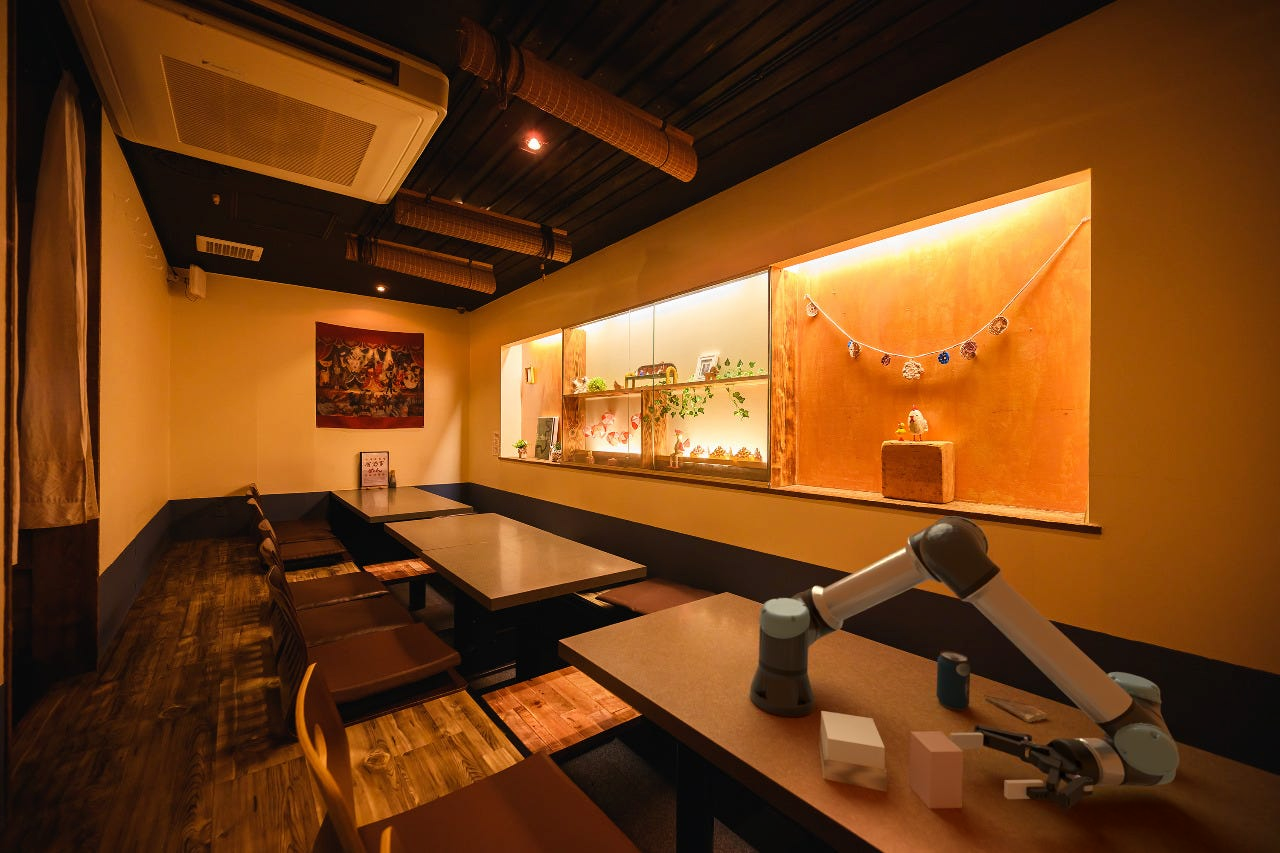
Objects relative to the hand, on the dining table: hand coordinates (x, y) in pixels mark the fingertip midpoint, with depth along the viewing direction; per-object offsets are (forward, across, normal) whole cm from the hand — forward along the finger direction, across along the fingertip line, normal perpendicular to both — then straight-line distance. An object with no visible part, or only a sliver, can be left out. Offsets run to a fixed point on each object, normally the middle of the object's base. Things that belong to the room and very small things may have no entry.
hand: (976, 763), depth 93 cm
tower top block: (+20, +8, -2) cm, 21 cm away
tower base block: (+20, +8, -6) cm, 22 cm away
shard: (-32, +27, -7) cm, 42 cm away
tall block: (+8, 0, -6) cm, 10 cm away
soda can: (-18, +31, -6) cm, 37 cm away
